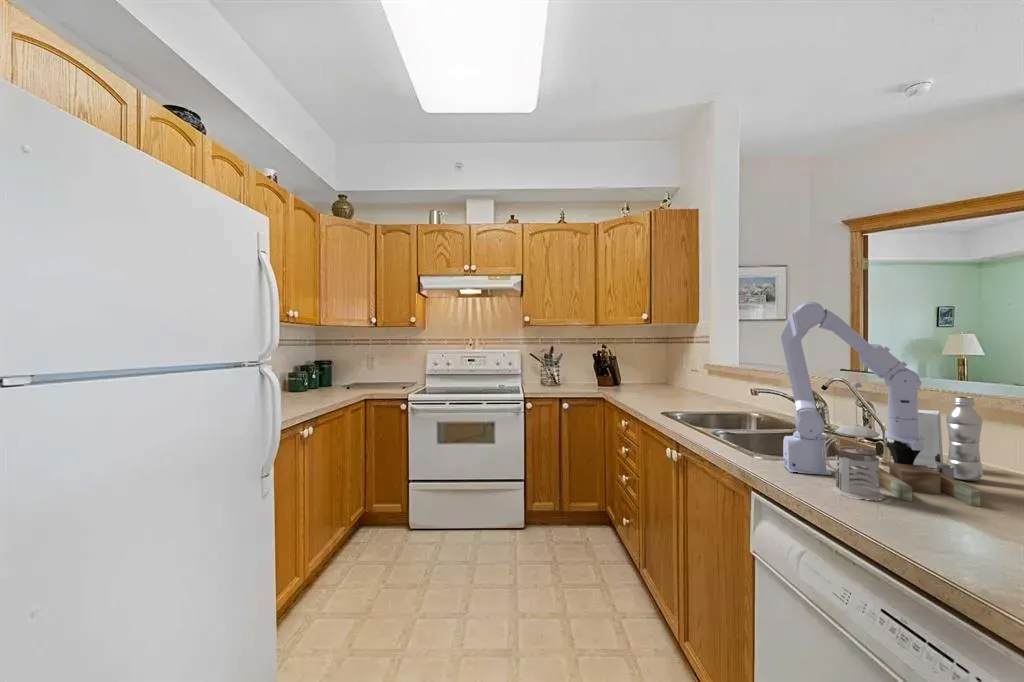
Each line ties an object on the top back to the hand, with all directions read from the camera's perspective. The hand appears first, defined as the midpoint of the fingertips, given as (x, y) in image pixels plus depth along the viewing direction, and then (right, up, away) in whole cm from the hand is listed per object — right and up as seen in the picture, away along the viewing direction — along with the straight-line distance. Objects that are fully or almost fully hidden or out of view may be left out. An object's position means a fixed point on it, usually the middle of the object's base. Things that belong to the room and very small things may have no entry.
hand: (903, 473), depth 114 cm
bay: (-2, -2, -8) cm, 8 cm away
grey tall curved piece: (-18, -2, -9) cm, 20 cm away
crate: (-2, -2, -5) cm, 5 cm away
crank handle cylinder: (+8, -2, -1) cm, 8 cm away
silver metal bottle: (+15, -2, 0) cm, 15 cm away
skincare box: (+16, -2, +14) cm, 21 cm away
